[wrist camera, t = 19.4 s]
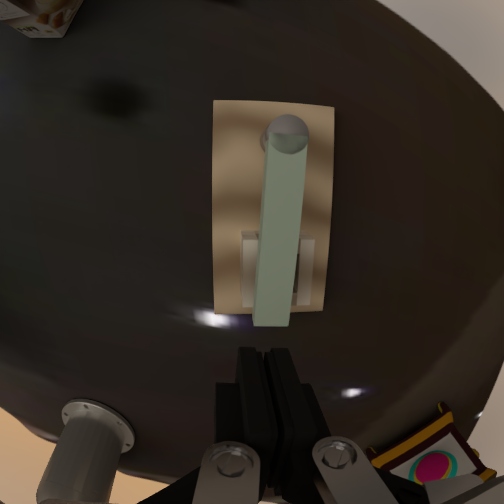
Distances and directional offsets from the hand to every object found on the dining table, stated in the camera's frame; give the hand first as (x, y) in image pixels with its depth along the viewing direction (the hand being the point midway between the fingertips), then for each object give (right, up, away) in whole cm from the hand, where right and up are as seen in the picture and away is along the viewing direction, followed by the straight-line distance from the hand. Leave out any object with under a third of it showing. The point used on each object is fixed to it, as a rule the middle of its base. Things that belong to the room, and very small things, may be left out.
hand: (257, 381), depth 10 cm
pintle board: (+2, +9, +22) cm, 23 cm away
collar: (+2, +4, +21) cm, 22 cm away
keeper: (+2, +7, +16) cm, 17 cm away
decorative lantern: (+32, -34, +37) cm, 59 cm away
